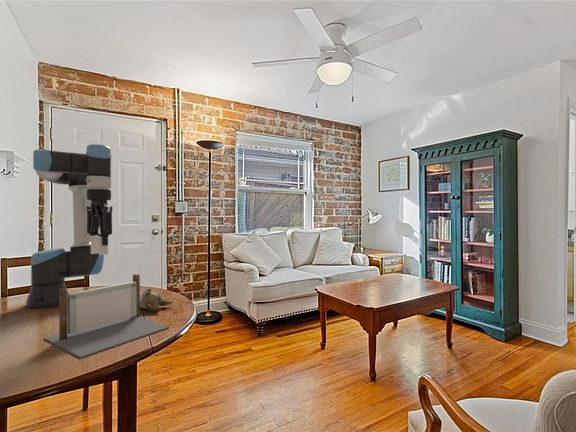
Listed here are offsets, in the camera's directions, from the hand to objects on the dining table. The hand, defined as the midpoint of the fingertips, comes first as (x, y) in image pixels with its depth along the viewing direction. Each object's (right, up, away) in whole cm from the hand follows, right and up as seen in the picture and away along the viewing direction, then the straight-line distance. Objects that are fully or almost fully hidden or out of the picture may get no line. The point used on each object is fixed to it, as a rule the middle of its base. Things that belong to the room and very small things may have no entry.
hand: (99, 254), depth 116 cm
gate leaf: (+4, -23, -5) cm, 24 cm away
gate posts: (+4, -25, -4) cm, 25 cm away
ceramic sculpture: (+11, -25, +17) cm, 32 cm away
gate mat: (+9, -25, -9) cm, 28 cm away
